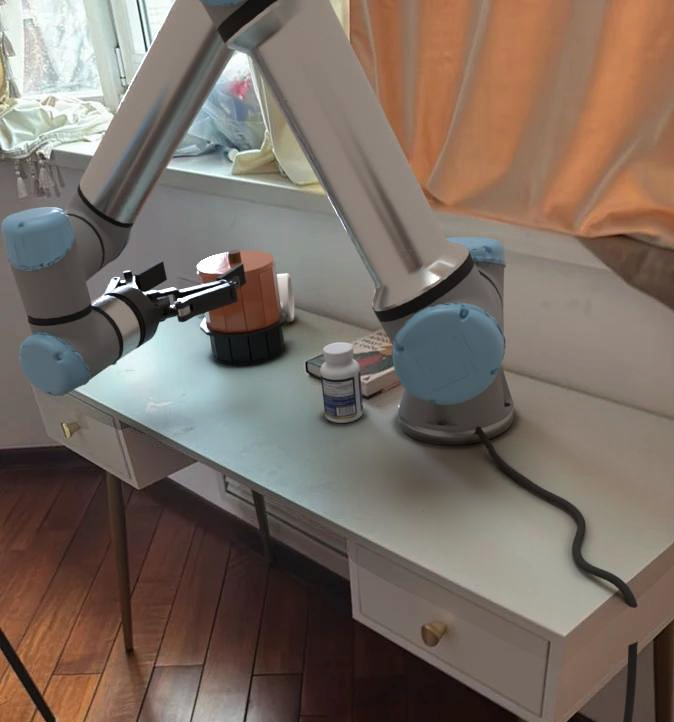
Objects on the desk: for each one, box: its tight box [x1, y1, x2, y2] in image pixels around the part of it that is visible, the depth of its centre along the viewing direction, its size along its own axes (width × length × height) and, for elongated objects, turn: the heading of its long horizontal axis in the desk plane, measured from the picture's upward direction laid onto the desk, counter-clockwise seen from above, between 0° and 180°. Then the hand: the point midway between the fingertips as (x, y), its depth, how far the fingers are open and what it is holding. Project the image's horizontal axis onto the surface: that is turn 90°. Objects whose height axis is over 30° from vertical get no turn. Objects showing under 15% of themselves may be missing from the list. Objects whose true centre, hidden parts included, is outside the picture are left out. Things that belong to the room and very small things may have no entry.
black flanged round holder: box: [199, 308, 288, 367], centre depth 139 cm, size 14×14×6 cm
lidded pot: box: [196, 249, 282, 333], centre depth 134 cm, size 12×12×10 cm
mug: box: [277, 273, 295, 323], centre depth 148 cm, size 12×10×8 cm
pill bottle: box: [319, 341, 364, 424], centre depth 116 cm, size 5×5×10 cm
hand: (202, 271), depth 124 cm, fingers open, 13 cm apart
